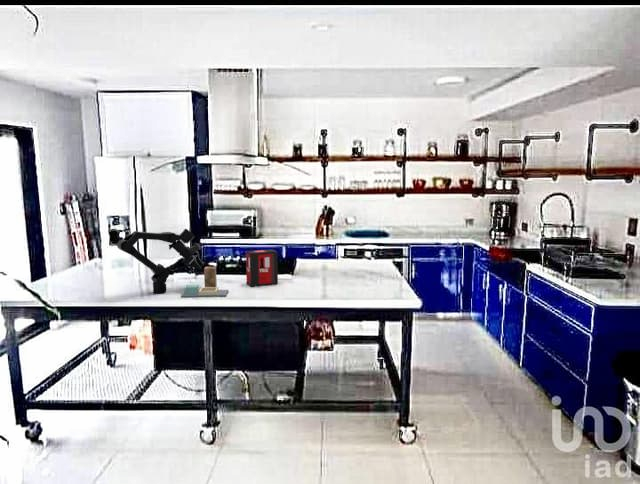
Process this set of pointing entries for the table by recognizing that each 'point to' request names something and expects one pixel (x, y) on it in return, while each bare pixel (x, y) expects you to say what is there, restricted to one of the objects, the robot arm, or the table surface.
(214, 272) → the pillar
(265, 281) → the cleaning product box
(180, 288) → the table surface
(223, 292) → the board
